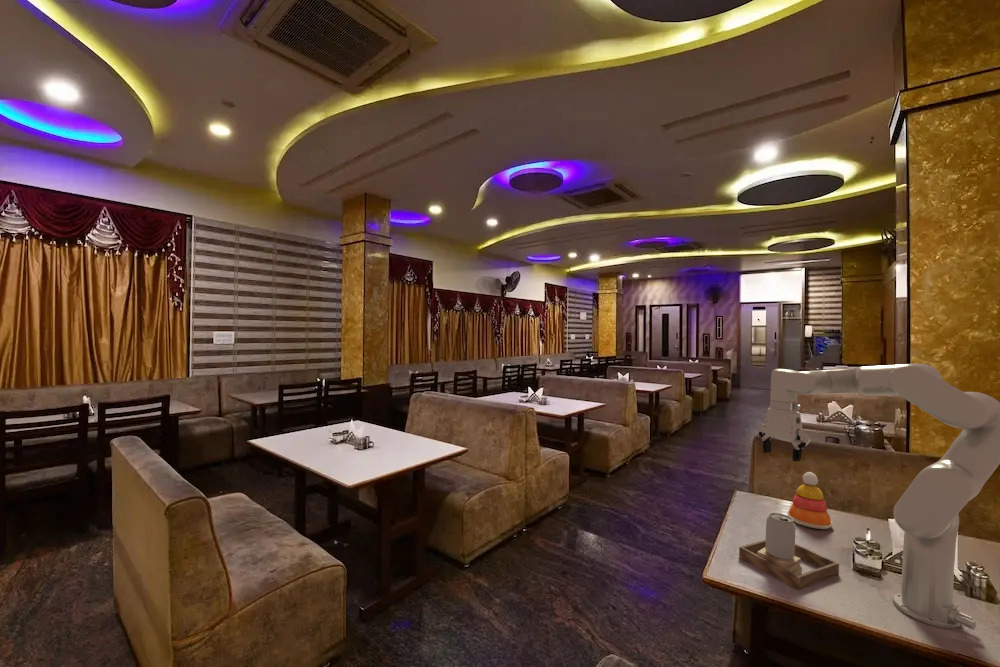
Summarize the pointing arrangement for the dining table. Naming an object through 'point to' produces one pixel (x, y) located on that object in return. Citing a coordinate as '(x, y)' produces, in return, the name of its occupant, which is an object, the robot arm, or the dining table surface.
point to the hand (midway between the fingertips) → (781, 456)
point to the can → (780, 536)
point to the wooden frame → (798, 582)
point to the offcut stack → (783, 562)
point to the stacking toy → (810, 505)
